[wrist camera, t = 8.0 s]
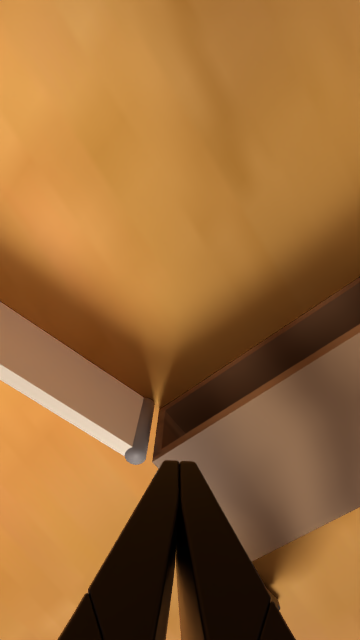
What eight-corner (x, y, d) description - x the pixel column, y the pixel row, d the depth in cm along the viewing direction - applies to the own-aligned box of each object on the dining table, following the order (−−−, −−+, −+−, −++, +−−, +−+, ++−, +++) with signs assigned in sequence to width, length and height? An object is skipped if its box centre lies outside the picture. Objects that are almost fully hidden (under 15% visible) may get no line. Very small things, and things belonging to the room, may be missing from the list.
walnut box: (234, 494, 23) (248, 563, 18) (159, 410, 21) (152, 461, 16) (447, 375, 20) (532, 420, 15) (384, 260, 18) (460, 269, 13)
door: (157, 403, 21) (150, 454, 16) (141, 422, 21) (130, 476, 16) (-61, 257, 18) (-151, 265, 13) (-74, 282, 18) (-166, 298, 13)
